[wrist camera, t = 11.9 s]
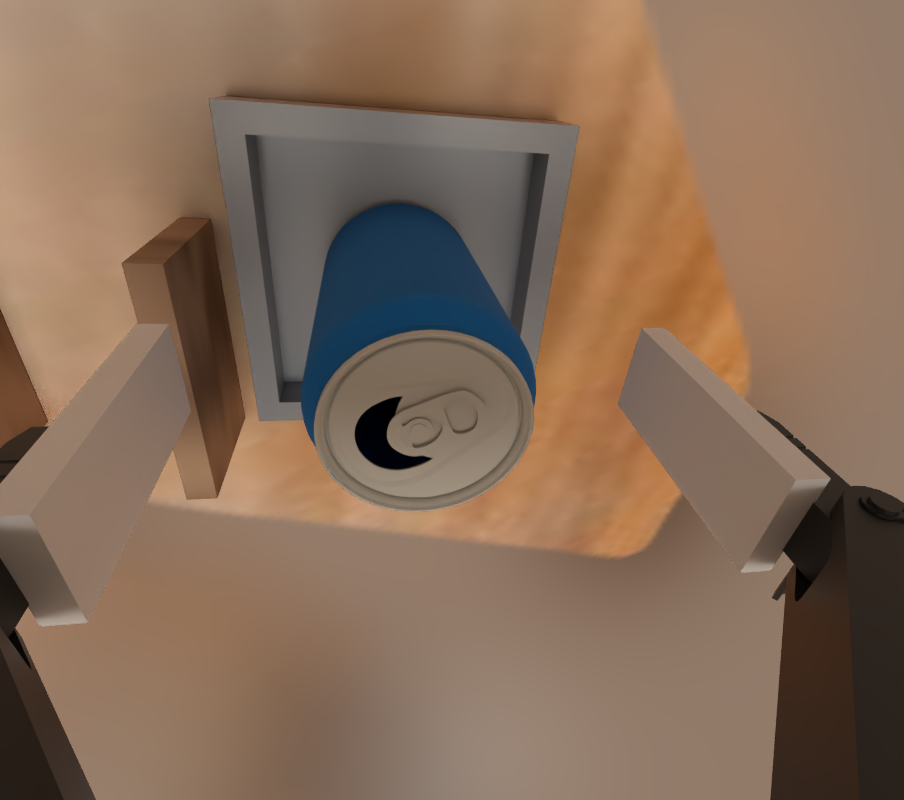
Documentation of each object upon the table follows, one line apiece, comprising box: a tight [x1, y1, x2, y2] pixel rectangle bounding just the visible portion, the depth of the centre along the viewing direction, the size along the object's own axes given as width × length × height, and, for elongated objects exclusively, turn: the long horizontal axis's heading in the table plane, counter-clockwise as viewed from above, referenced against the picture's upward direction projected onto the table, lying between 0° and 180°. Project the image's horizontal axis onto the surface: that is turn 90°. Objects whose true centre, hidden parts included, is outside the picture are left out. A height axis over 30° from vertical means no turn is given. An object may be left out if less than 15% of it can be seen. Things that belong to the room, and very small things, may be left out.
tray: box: [209, 96, 580, 421], centre depth 22 cm, size 13×13×2 cm
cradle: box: [0, 218, 245, 500], centre depth 20 cm, size 10×10×6 cm
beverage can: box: [301, 203, 536, 512], centre depth 18 cm, size 6×6×12 cm
